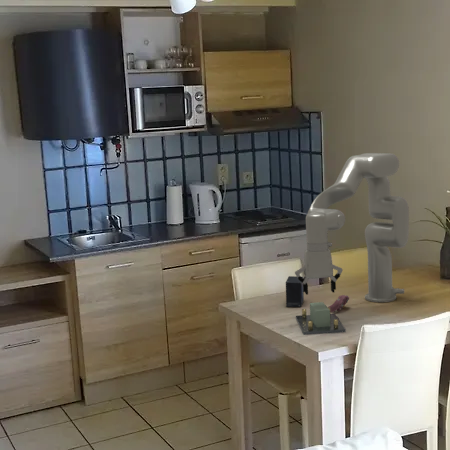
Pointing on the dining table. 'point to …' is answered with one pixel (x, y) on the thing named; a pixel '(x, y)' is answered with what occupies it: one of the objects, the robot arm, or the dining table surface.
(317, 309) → the green board block
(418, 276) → the dining table surface
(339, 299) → the video game controller
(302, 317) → the standoff plate
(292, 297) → the small box
